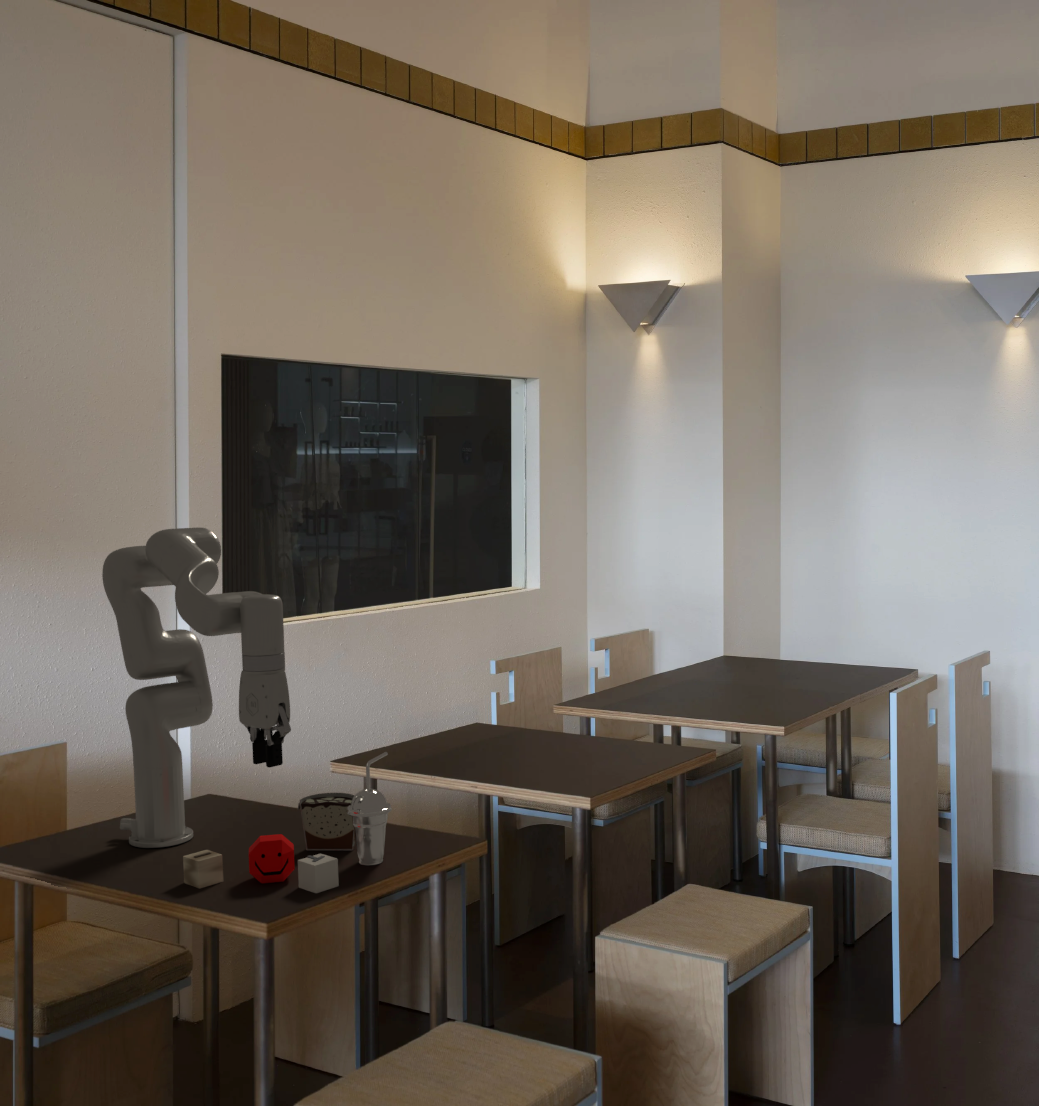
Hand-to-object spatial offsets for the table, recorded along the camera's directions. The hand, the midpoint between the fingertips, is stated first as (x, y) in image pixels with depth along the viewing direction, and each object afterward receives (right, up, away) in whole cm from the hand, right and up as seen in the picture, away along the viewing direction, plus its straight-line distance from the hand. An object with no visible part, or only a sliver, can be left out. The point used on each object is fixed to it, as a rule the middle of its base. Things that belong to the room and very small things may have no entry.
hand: (267, 763), depth 220 cm
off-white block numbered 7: (+10, -21, -4) cm, 24 cm away
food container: (+9, -20, +21) cm, 30 cm away
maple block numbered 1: (-12, -22, +1) cm, 25 cm away
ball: (+1, -21, +1) cm, 21 cm away
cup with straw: (+18, -20, +10) cm, 29 cm away
